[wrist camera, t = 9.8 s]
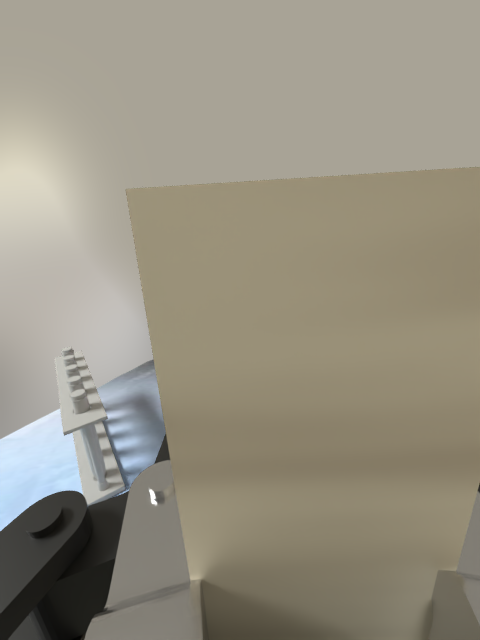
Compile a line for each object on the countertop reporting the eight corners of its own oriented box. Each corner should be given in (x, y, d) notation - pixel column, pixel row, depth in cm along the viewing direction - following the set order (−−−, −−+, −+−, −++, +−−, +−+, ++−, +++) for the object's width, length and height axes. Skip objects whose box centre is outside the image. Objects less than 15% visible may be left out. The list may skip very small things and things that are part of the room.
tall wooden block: (376, 871, 7) (565, 161, 2) (239, 873, 7) (125, 189, 2) (313, 581, 13) (327, 217, 8) (239, 583, 13) (208, 224, 8)
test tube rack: (125, 490, 34) (103, 399, 30) (86, 511, 31) (56, 415, 27) (94, 401, 53) (79, 339, 49) (69, 410, 51) (50, 346, 47)
